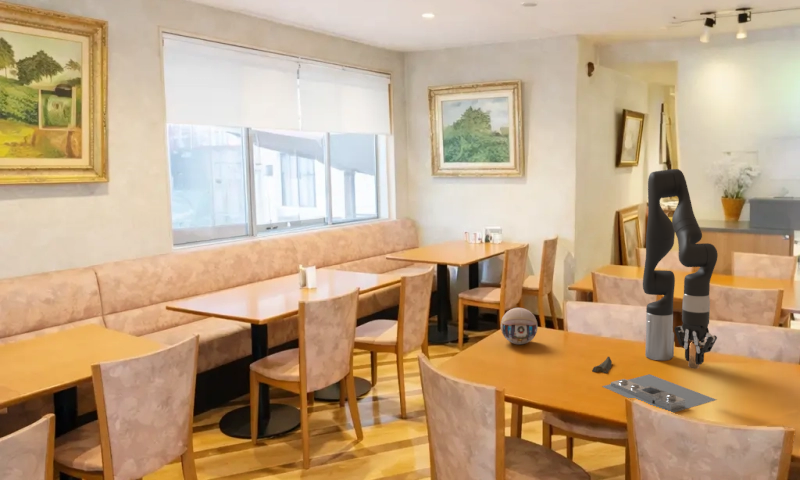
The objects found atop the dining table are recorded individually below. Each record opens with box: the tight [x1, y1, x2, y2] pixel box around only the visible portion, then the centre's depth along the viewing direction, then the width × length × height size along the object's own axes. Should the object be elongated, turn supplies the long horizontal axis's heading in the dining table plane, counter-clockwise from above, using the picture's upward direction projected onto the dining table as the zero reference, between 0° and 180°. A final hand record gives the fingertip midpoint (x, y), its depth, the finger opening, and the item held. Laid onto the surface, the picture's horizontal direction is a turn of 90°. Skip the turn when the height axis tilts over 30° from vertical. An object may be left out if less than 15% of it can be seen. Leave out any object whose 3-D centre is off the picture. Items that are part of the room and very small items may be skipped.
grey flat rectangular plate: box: [601, 374, 717, 414], centre depth 197 cm, size 22×26×1 cm
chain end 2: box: [636, 386, 685, 411], centre depth 190 cm, size 6×13×3 cm, turn 26°
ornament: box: [500, 307, 538, 345], centre depth 253 cm, size 15×15×15 cm
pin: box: [688, 341, 700, 370], centre depth 189 cm, size 3×3×8 cm
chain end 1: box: [610, 378, 655, 403], centre depth 198 cm, size 6×17×2 cm, turn 26°
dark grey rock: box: [591, 356, 613, 374], centre depth 221 cm, size 13×5×4 cm, turn 138°
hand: (694, 362), depth 190 cm, fingers closed on pin, 3 cm apart
